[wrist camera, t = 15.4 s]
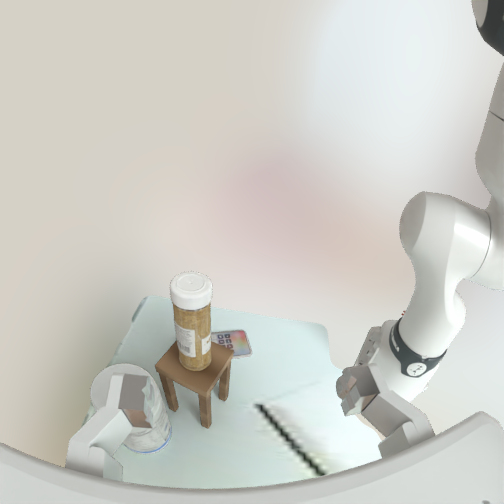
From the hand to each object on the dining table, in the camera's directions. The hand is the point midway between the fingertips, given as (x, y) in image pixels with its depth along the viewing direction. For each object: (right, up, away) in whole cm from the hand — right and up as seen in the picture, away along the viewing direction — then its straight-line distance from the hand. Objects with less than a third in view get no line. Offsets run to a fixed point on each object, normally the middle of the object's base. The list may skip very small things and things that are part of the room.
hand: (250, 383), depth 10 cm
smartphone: (-8, -14, +45) cm, 48 cm away
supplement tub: (-18, -24, +26) cm, 40 cm away
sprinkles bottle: (-8, -9, +25) cm, 28 cm away
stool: (-9, -21, +33) cm, 40 cm away
